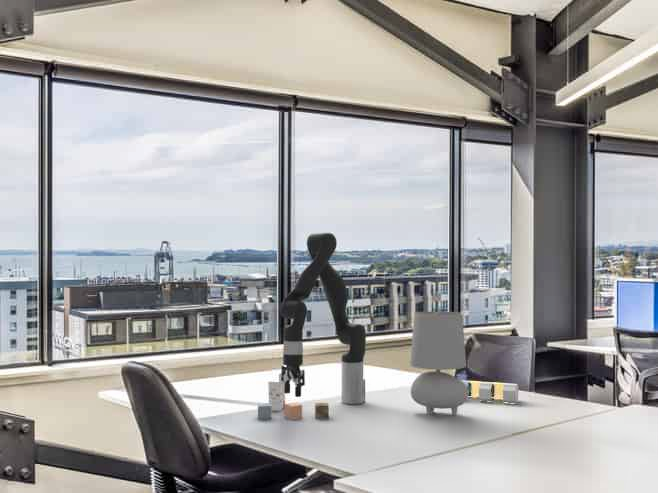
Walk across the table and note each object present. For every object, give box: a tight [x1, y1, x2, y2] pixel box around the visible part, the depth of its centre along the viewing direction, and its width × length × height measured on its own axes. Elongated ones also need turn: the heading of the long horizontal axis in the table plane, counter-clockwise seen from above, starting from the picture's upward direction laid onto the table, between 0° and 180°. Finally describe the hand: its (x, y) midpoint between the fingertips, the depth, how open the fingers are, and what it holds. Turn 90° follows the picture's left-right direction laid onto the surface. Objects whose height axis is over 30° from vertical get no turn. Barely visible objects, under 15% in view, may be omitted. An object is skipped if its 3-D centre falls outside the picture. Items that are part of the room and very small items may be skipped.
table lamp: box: [410, 311, 469, 416], centre depth 284 cm, size 23×22×40 cm
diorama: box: [456, 370, 519, 404], centre depth 311 cm, size 25×10×13 cm, turn 68°
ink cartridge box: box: [267, 372, 286, 412], centre depth 294 cm, size 9×5×15 cm, turn 168°
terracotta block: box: [283, 402, 303, 420], centre depth 278 cm, size 5×5×5 cm
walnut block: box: [314, 402, 330, 420], centre depth 279 cm, size 5×5×5 cm
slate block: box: [257, 402, 272, 420], centre depth 278 cm, size 5×5×5 cm
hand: (292, 394), depth 278 cm, fingers open, 8 cm apart
